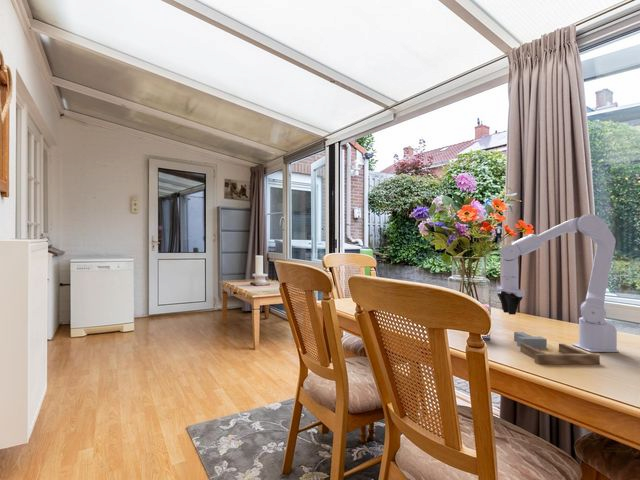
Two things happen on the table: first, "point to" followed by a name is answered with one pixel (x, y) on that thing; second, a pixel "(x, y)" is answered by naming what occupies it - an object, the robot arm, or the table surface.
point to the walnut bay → (560, 355)
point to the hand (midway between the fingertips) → (509, 313)
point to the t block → (530, 340)
